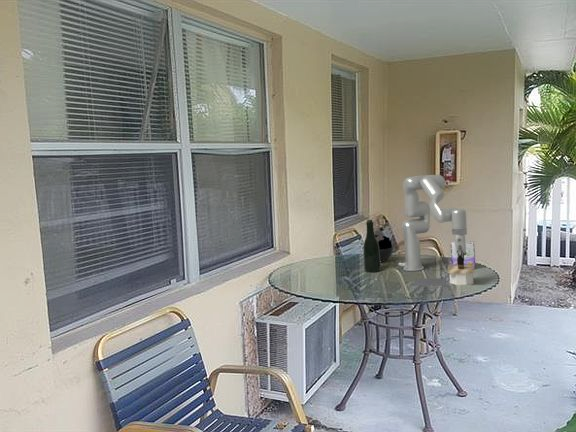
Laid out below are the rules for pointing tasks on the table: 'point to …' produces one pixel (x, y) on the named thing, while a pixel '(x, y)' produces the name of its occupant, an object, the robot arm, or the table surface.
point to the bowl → (461, 278)
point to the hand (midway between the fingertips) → (460, 262)
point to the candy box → (468, 256)
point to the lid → (461, 269)
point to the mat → (429, 282)
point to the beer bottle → (371, 250)
